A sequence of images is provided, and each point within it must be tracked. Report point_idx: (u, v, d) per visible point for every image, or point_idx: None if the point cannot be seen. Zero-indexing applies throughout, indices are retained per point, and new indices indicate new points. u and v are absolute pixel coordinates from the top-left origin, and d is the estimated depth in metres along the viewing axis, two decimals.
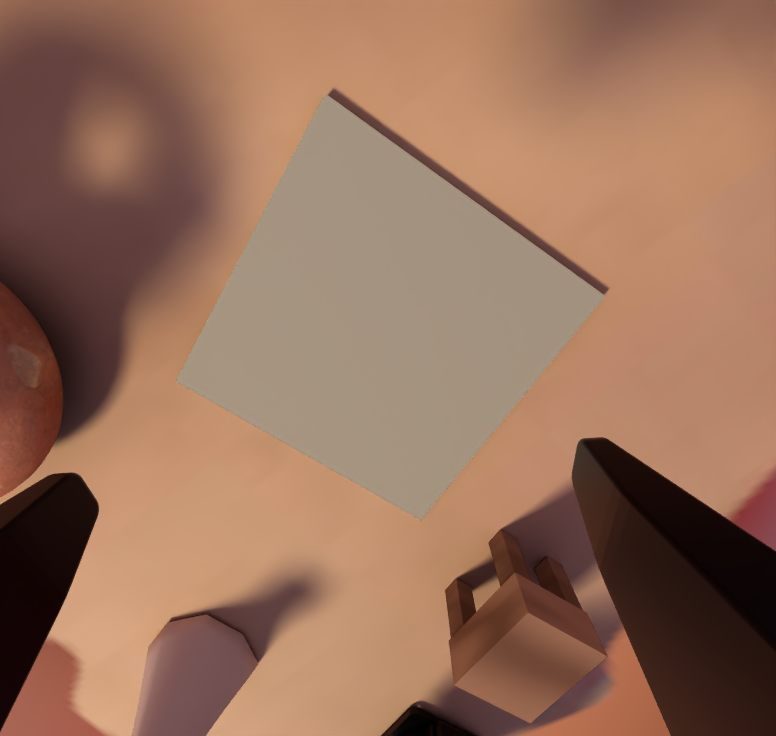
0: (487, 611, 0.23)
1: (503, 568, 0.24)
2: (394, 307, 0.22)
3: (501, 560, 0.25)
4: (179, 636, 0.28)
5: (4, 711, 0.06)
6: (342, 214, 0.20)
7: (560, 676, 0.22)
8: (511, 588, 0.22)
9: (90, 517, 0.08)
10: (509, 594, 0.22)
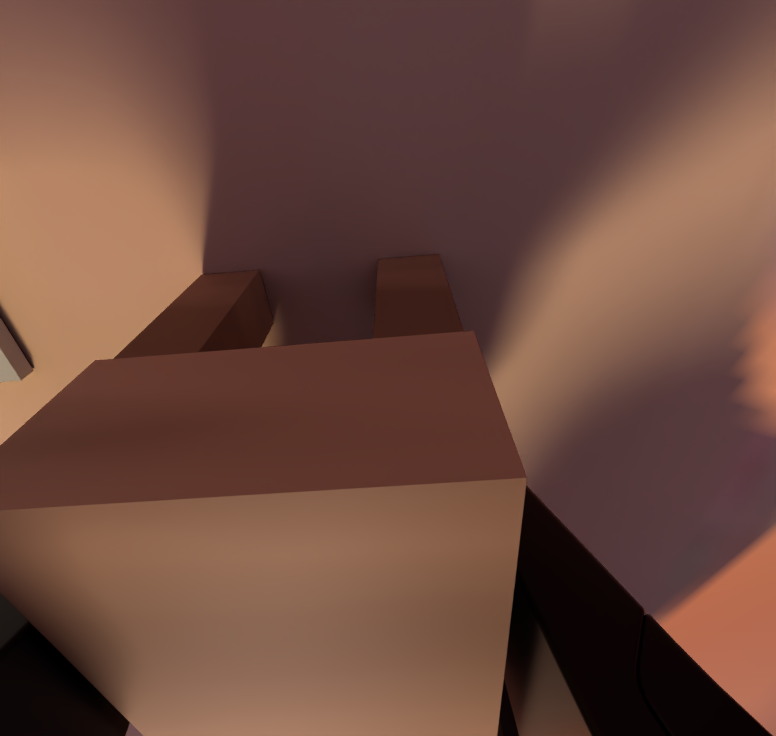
0: None
1: None
2: None
3: None
4: None
5: None
6: None
7: (419, 638, 0.05)
8: None
9: None
10: None
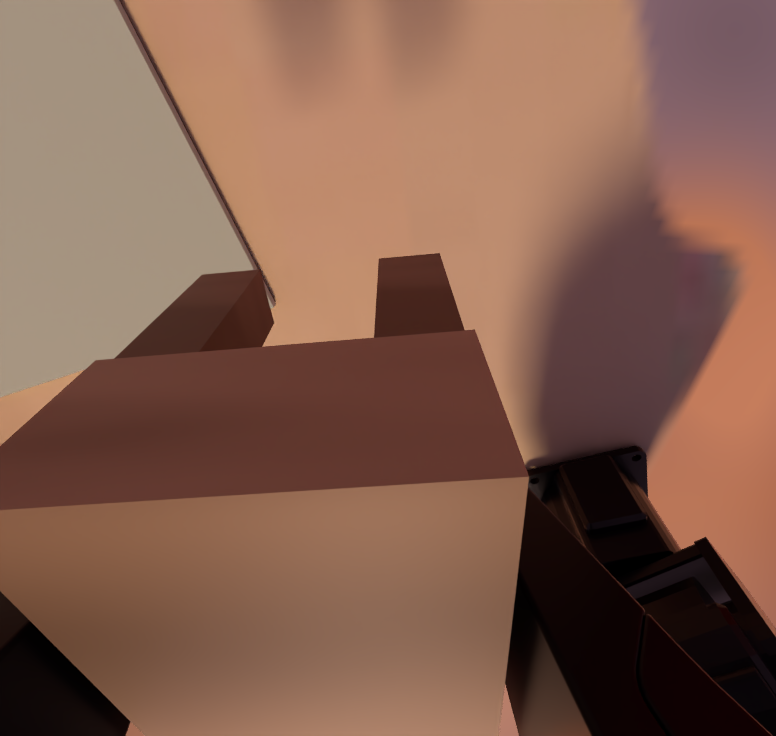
0: None
1: None
2: None
3: None
4: None
5: None
6: None
7: (421, 637, 0.05)
8: None
9: None
10: None
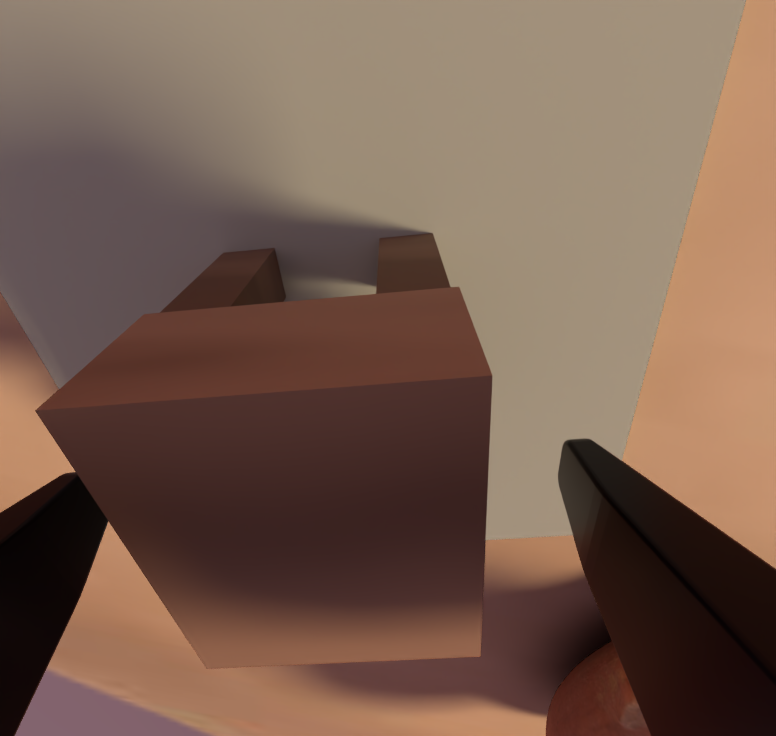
0: None
1: None
2: None
3: None
4: None
5: (20, 711, 0.06)
6: None
7: (413, 526, 0.06)
8: None
9: (103, 516, 0.08)
10: None
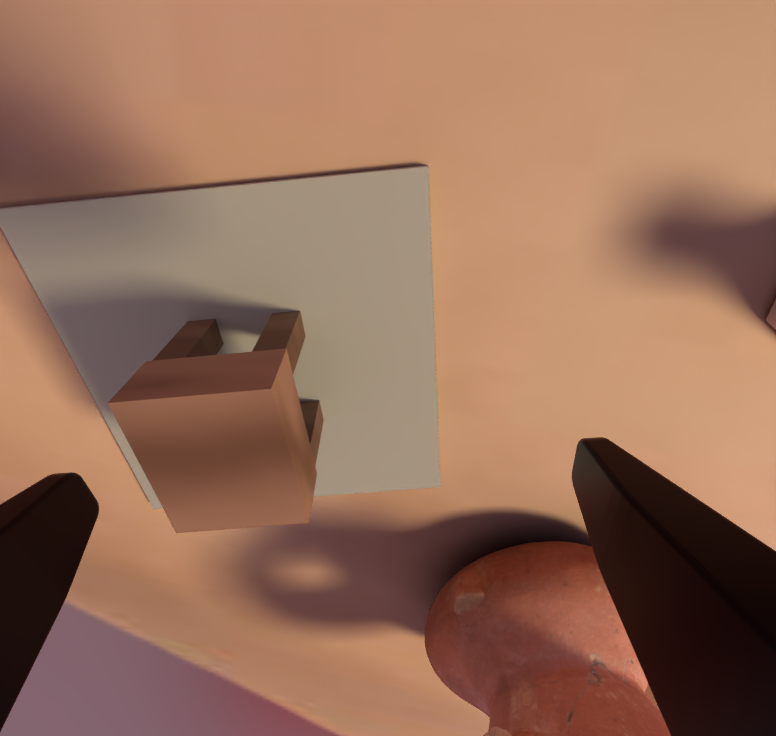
0: None
1: None
2: None
3: None
4: None
5: (4, 712, 0.06)
6: None
7: (258, 450, 0.14)
8: None
9: (90, 517, 0.08)
10: None
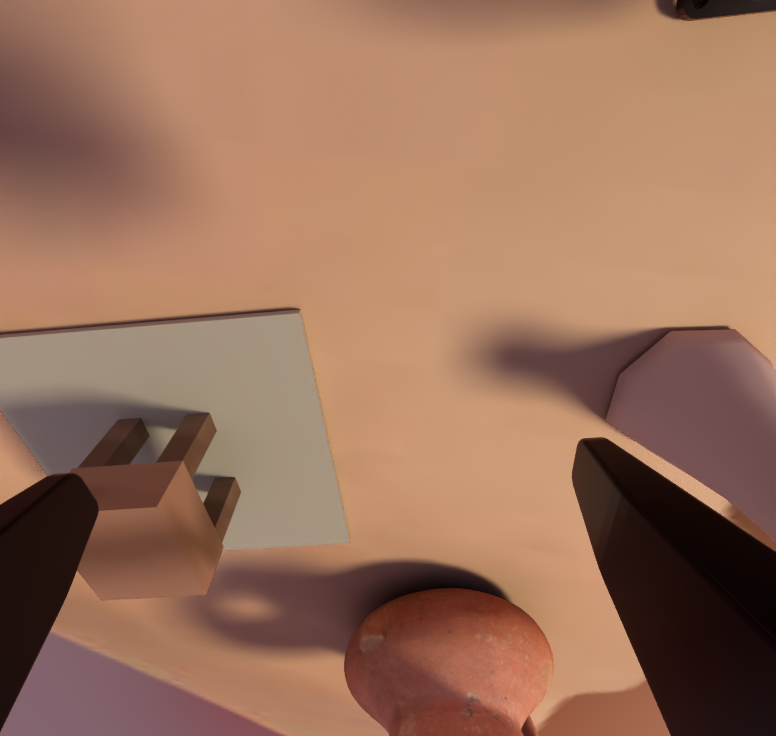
0: None
1: None
2: None
3: None
4: None
5: (4, 711, 0.06)
6: None
7: (155, 546, 0.18)
8: None
9: (90, 517, 0.08)
10: None
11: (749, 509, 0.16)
